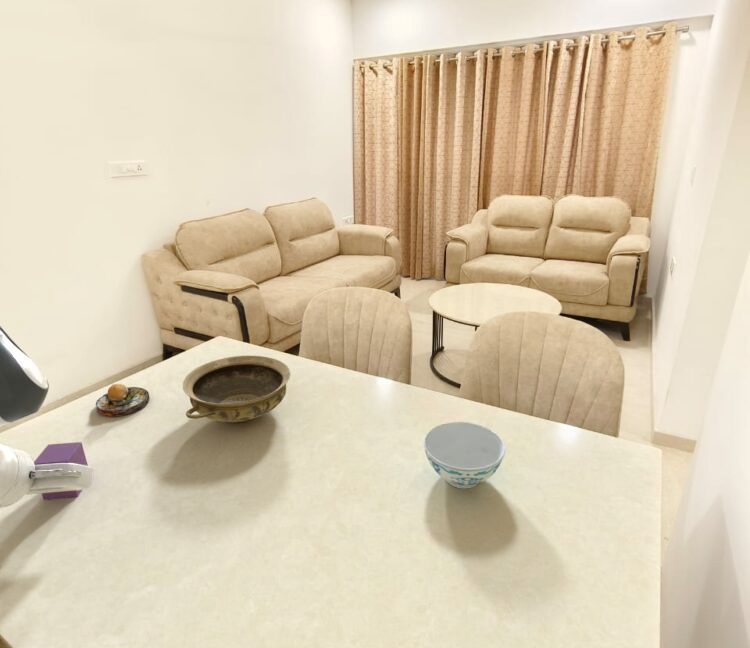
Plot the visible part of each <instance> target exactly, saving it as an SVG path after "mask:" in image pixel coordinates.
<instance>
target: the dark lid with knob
mask: <svg viewBox="0 0 750 648" xmlns="http://www.w3.org/2000/svg"><path fill="white" fill-rule="evenodd" d="M149 402H150V393H149V391H148V390H147V389H146V388H143V387H138V386H130V387H129V386H128V387H127V385H126V384H122V383H114V384H113V383H111V386H110V387H108V389H107V392H106V393H104V394H103V395H102V396H101V397H99V398H98V399H97V400H96V401H95V409H96V412H97V413H99V414H100V415H101V416H104V417H106V416H107V417H120V416H126V415H129V414H131V413H134V412H135V413H136V412H137V411H139V410H141V409H144V407H145V406H146V405H148V404H149Z"/></svg>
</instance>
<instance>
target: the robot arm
mask: <svg viewBox="0 0 750 648" xmlns="http://www.w3.org/2000/svg"><path fill="white" fill-rule="evenodd" d="M49 389H50V384H49V382H48V379H47V377H46V375H45V373H44V371H43V370H42V369H41V368H40V366H39V365H38V364H37V363H36V362H34V360H33V359H31V358H30V357H29V355H28V354H26V352H25V351H23V349H21V348H20V346H19V345H18V344H17V343H16V342H15V341H14V340H13V339H12V338H11V337H10V336H9V334H8V333H7V332H6V331H5V329H3V326H1V325H0V428H1V427H4V426H5V425H7V424H9V423H14V422H16V421H18V420H22V419H24V418H26V417H29V416H32V415H33V414H36V413H38V412H39V410H40V409H41V407H42V406H43V404H44V402H45V400H46V399H47V395H48V392H49ZM93 480H94V468H93V467H92V466H90V465H88V466H86V465H81V464H75V463H55V464H42V465H35V464H34V460H33V457H32V456H31V455H30V454H29V453H27V452H25V451H24V450H22V449H19V448H18V449H17V448H15V447H10V446H7V445H4V444H1V443H0V509H4V508H8V507H10V506H12V505H14V504H16V503H18V502H19V501H20V500H22V498H24V497H25V496H27V495H28V496H29V495H37V494H42V493H51V492H63V491H74V490H82V491H84V490H88V489H90V488H91V487H92V484H93Z"/></svg>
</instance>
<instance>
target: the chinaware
mask: <svg viewBox="0 0 750 648" xmlns="http://www.w3.org/2000/svg"><path fill="white" fill-rule="evenodd" d="M423 447H424V453H425V454H426V455H425V456H426V458H427V460H428V463H429V464H430V466H431V468H432V469H433V471H434V472H435V473H436V474H437V475H438V476H439V477H440V478H442V479H444V481H446V482H447V484H449V485H450V486H452V487H455V488H458V489H471V488H475V486H477V485H478V484H481V483H483V482H485V481H487V480H488V479H490V478H491V477H492V476H493V475H494V473H496V472H497V470H498V469H499V467H500V466H501V464H502V462H503V460H504V456H505V453H506V446H505V443H504V441H503V439H502V438H501V437H500V435H499V434H497V433H496V432H495V431H494V430H492V429H490V428H488V427H486V426H483V425H482V424H477V423H473V422H466V421H450V422H444V423H441V424H438V425H436V426H434V427H432V428H430V429H429V431H428V432H427V433H426V434H425V436H424V438H423Z"/></svg>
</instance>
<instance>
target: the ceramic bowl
mask: <svg viewBox="0 0 750 648" xmlns="http://www.w3.org/2000/svg"><path fill="white" fill-rule="evenodd" d="M290 377H291V370H290V368H289V366H288V365H287V364H286V363H284V362H282V361H281V360H278V359H276V358H273V357H268V356H262V355H250V354H249V355H235V356H234V355H233V356H229V357H224V358H220V359H215V360H211V361H209V362H207V363H204V364H202V365H200V366H198V367H196V368H194V369H193V370H192V371H190V372H189V373H188V374H187V375H186V376H185V377H184V379H183V382H182V390H183V392H184V394H185V395H187V396H188V397H189V402H190V404H191V407H192V408H189V409H188V410H187V411H186V412H185V416H186V418H188V419H191V420H199V419H203V418H206V419H210V420H213V421H215V422H223V423H226V422H228V423H244V422H245V423H246V422H248V421H251V420H253V419H256V418H259V417H261V416H263V415H266V414H268V413H269V412H271V411H273V410H274V409H276V407H277V406H279V404H281V403H282V401H283V400H284V398H285V396H286V394H287V383H288V382H289V381H290ZM193 413H197V414H193Z"/></svg>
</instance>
